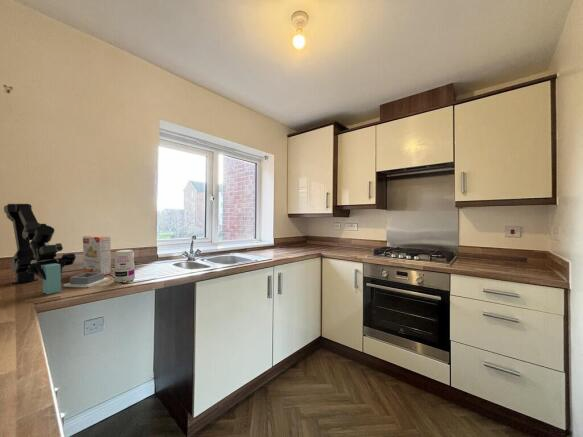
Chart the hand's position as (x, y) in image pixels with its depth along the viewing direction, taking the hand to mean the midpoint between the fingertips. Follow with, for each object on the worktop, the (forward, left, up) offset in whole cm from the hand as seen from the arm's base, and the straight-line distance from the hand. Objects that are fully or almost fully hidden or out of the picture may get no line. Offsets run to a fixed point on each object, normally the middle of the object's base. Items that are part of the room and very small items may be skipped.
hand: (53, 277), depth 106 cm
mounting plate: (+1, +14, -7) cm, 16 cm away
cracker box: (-10, +30, -7) cm, 32 cm away
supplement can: (+15, +21, -7) cm, 27 cm away
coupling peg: (-1, 0, -7) cm, 7 cm away
